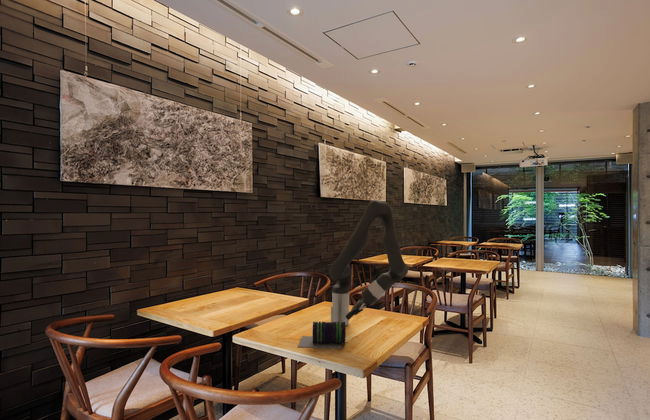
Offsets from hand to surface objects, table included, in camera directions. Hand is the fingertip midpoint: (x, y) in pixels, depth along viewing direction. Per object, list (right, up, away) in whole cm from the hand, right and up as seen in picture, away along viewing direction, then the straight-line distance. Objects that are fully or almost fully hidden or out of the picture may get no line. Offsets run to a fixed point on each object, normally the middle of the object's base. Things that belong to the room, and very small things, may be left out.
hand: (346, 318), depth 172 cm
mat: (-12, -12, +1) cm, 17 cm away
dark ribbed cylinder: (-1, -7, 0) cm, 7 cm away
